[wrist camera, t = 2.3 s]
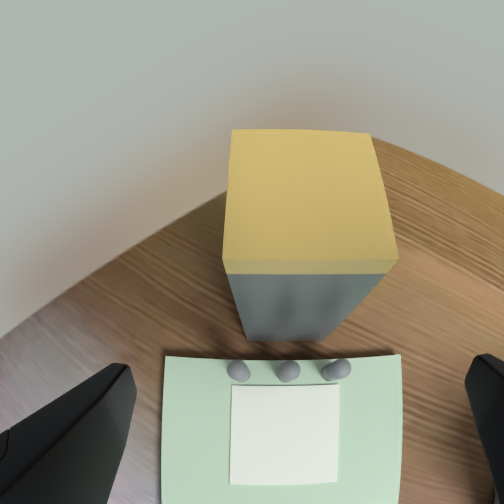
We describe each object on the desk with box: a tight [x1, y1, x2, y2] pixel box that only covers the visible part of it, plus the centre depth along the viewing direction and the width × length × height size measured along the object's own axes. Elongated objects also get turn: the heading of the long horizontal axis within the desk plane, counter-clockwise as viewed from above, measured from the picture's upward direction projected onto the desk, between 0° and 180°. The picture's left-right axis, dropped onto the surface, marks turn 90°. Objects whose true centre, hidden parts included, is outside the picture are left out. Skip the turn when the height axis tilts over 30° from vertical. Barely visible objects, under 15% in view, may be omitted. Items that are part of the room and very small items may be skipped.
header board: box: [161, 354, 402, 504], centre depth 13 cm, size 15×14×4 cm
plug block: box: [222, 129, 399, 341], centre depth 14 cm, size 4×4×12 cm
